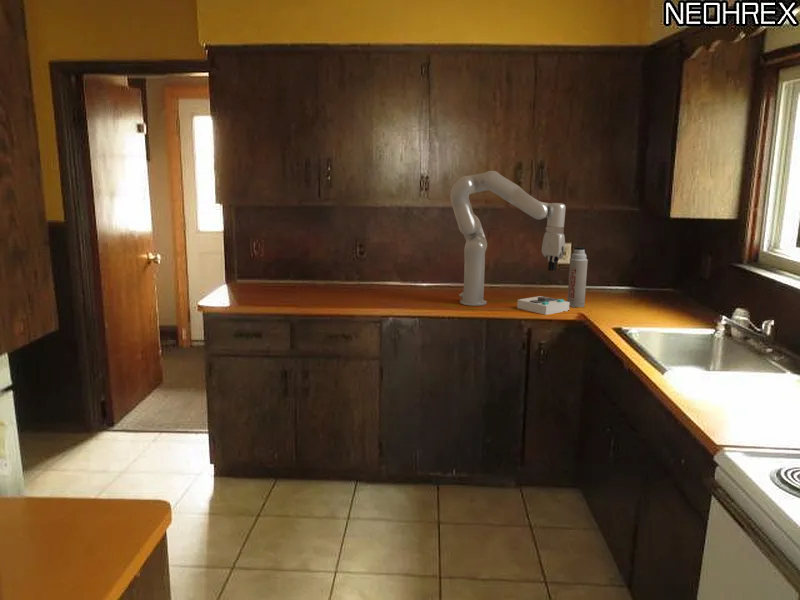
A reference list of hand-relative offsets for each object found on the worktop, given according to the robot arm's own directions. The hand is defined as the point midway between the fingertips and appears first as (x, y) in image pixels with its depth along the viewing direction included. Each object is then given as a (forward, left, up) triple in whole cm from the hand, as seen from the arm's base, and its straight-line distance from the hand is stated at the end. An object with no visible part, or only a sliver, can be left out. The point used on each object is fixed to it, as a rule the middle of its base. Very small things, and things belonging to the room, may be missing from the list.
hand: (551, 270), depth 303 cm
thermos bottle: (+4, +14, -18) cm, 23 cm away
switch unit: (0, -5, -18) cm, 18 cm away
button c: (0, 0, -17) cm, 17 cm away
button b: (0, -5, -16) cm, 16 cm away
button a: (0, -10, -17) cm, 20 cm away
